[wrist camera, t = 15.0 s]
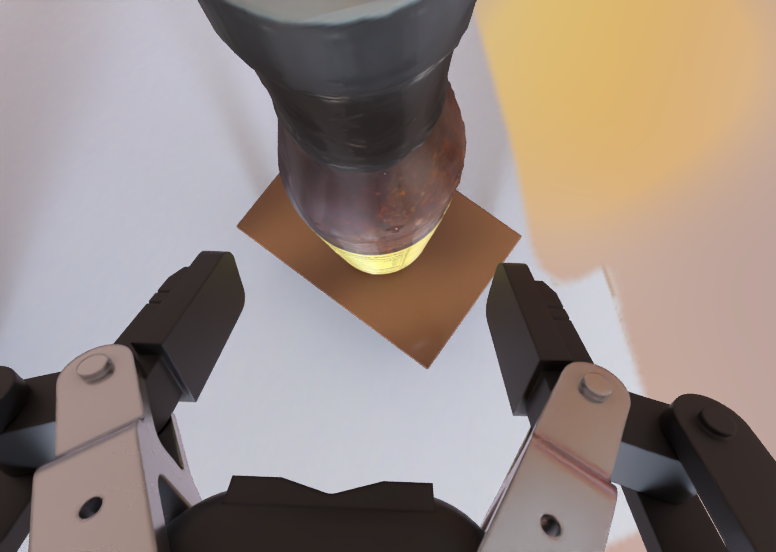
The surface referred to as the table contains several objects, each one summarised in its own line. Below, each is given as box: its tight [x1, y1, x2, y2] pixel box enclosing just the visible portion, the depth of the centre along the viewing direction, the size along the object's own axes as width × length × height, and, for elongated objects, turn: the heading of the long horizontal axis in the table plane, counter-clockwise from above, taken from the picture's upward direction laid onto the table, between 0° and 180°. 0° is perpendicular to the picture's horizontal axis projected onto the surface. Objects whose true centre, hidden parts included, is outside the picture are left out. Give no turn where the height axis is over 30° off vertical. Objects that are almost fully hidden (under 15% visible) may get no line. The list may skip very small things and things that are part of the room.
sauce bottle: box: [198, 0, 477, 274], centre depth 13 cm, size 7×6×20 cm
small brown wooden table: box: [237, 173, 521, 369], centre depth 27 cm, size 16×11×8 cm
